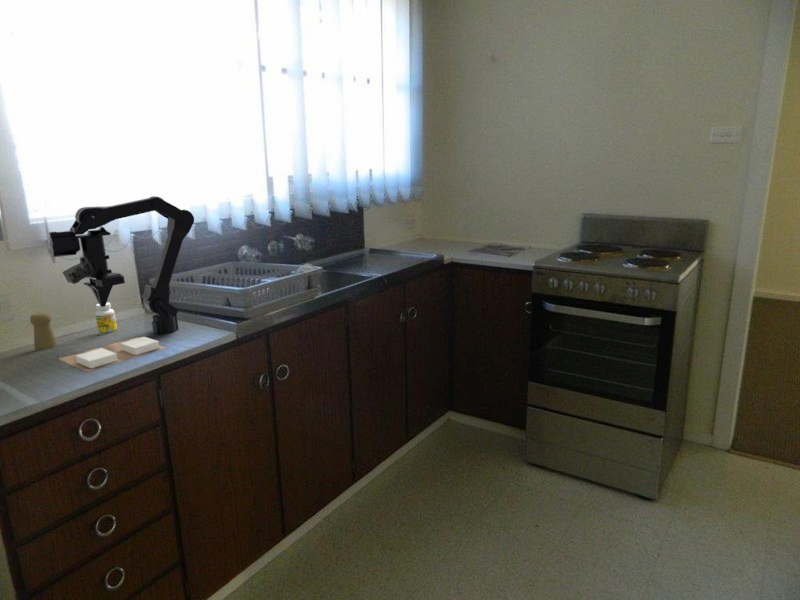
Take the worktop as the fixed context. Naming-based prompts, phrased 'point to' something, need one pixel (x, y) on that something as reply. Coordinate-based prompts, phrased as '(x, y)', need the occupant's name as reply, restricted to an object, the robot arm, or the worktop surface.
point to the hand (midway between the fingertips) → (102, 306)
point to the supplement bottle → (105, 319)
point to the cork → (43, 331)
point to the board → (112, 347)
